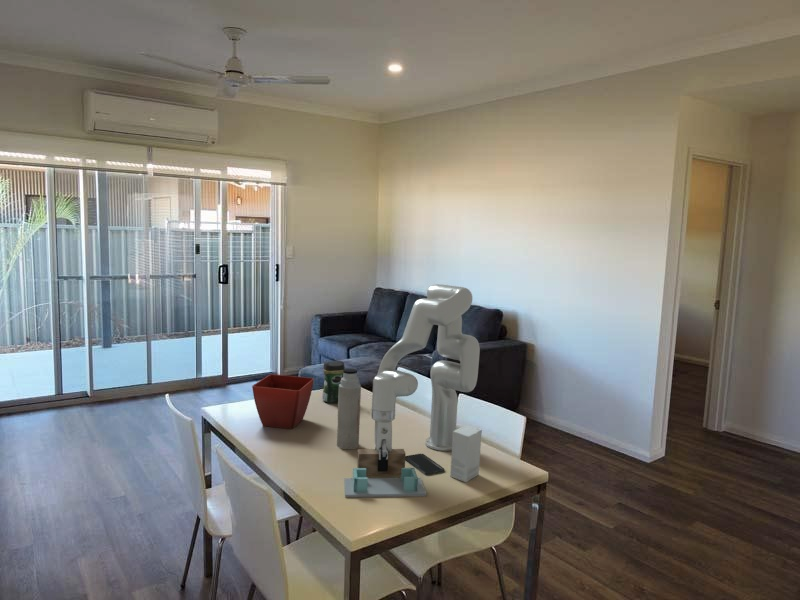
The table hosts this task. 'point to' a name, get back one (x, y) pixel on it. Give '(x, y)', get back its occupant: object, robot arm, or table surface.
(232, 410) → the table surface
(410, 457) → the phone
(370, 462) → the brown wooden block
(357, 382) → the thermos bottle
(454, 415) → the robot arm
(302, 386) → the plant pot
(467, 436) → the skincare box
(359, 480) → the rail
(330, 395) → the coffee jar
